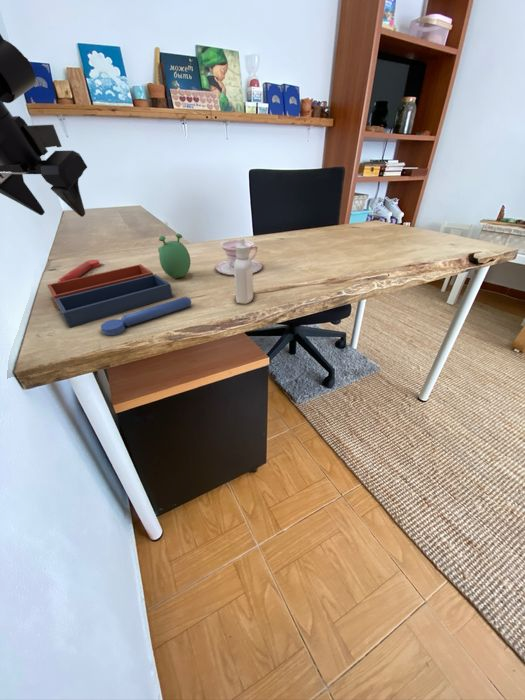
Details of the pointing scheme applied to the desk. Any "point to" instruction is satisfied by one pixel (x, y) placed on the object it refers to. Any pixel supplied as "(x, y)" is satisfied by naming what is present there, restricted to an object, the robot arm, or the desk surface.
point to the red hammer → (80, 270)
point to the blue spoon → (143, 316)
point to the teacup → (230, 249)
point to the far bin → (97, 281)
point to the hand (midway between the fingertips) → (62, 214)
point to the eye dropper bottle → (243, 274)
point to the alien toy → (174, 257)
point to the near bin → (112, 299)
